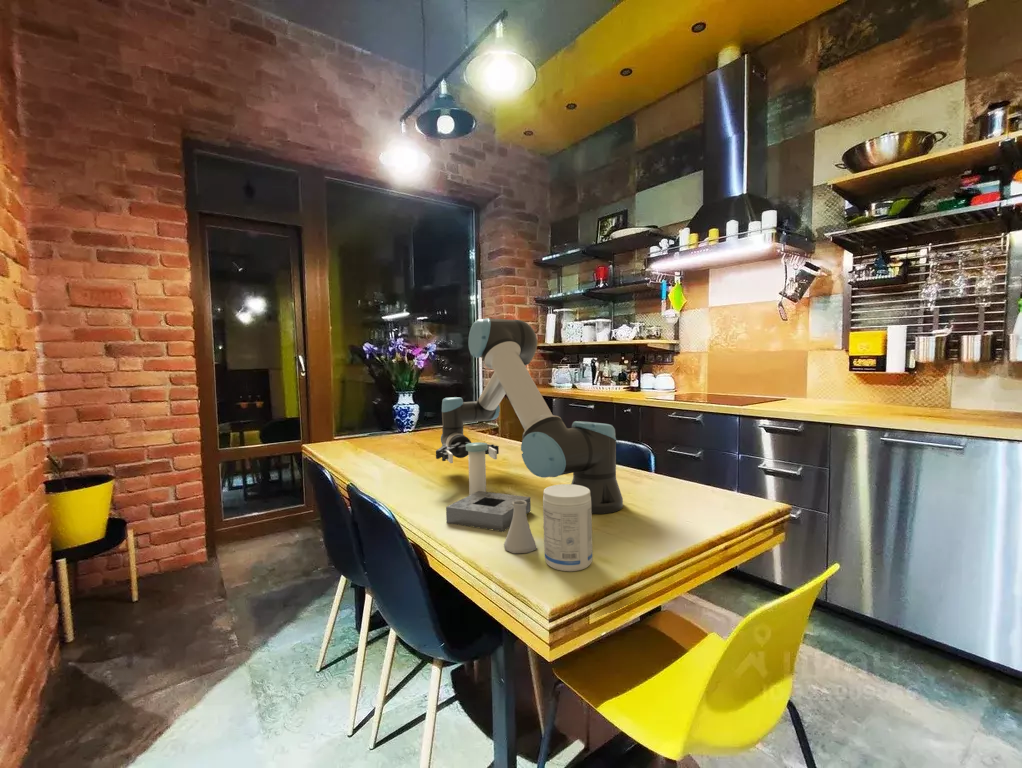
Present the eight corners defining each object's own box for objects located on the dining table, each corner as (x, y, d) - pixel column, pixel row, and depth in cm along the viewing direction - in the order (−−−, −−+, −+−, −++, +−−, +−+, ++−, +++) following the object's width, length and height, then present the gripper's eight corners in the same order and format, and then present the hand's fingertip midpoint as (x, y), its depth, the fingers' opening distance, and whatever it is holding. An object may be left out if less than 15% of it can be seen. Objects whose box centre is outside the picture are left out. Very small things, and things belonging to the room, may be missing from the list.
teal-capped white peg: (492, 496, 143) (491, 443, 142) (481, 501, 137) (480, 446, 136) (474, 493, 146) (472, 441, 145) (462, 499, 140) (461, 445, 139)
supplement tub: (567, 549, 102) (566, 481, 101) (602, 563, 94) (601, 489, 94) (534, 562, 95) (532, 489, 95) (568, 578, 88) (567, 499, 87)
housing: (530, 512, 127) (530, 497, 127) (502, 531, 113) (502, 515, 113) (478, 504, 134) (478, 490, 134) (446, 522, 120) (446, 506, 120)
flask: (511, 557, 98) (510, 509, 98) (498, 545, 105) (497, 500, 104) (543, 550, 101) (542, 504, 101) (528, 539, 108) (527, 495, 107)
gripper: (494, 453, 167) (513, 465, 147) (422, 459, 159) (432, 472, 139) (493, 431, 167) (513, 441, 147) (421, 436, 159) (431, 447, 139)
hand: (473, 456), depth 143 cm, fingers open, 13 cm apart
